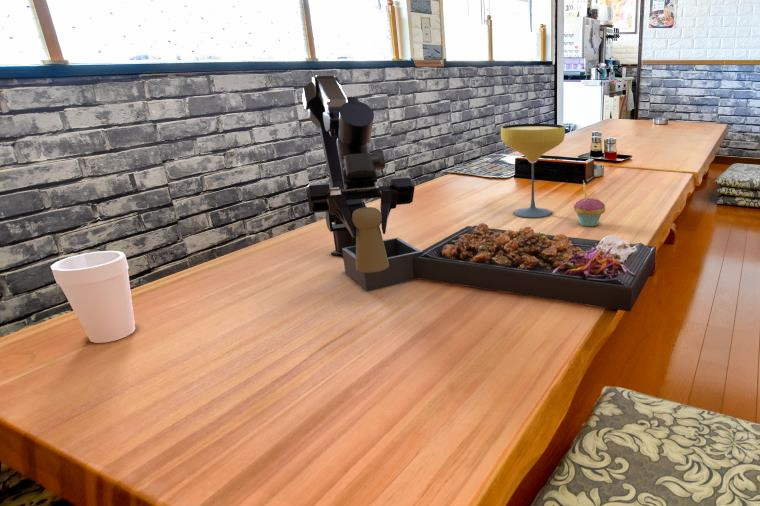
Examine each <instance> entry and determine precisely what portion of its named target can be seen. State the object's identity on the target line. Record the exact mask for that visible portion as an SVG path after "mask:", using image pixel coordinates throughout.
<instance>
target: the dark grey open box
mask: <svg viewBox="0 0 760 506" xmlns="http://www.w3.org/2000/svg"><path fill="white" fill-rule="evenodd" d="M383 242H384V246H385V250H386V254H387V258H388V262H389V267H388V268H386V269H385V270H382V271H378V272H371V273H365V272H360V271H357V270H356V245H355V246H350V247H345V248H342V252H343V256H342V258H343V266H344V273H345V274H346V275H347V276H348V277H349V278H351V280H353V281H354V282H355V283H357V284H358V285H359V286H360V287H361V288H362V289H364V291H366V292H368V291H372V290H376V289H381V288H384V287H389V286H393V285H398V284H401V283H406V282H410V281H414V280H418V279H419V278H414V274H413V263H412V257H413V256H417V257H420V255H422V254H423V251H422V250H421V249H419V248H418V247H416V246H414V245H413V244H410V242H407V241H405V240H403V239H402V238H400V237H398V236H397V237H392V238H388V239H383Z"/></svg>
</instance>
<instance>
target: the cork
mask: <svg viewBox="0 0 760 506" xmlns="http://www.w3.org/2000/svg"><path fill="white" fill-rule="evenodd" d="M352 222H353V225H354V226H355V227H356V270H357V271H360V272H365V273H371V272H378V271H382V270H385V269H386V268H388V267H389V262H388V258H387V254H386V250H385V246H384V242H383V240H384V239H383V233H382V229H381V223H382V215H381V210H380V209H378V208H377V207H371V206H367V207H364V208H359V209H356V210H355V211H354V212H353V214H352Z"/></svg>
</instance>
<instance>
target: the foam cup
mask: <svg viewBox="0 0 760 506" xmlns="http://www.w3.org/2000/svg"><path fill="white" fill-rule="evenodd" d="M50 269H51V272H52V274H53V278H54V280H55V282H56V284H57V285H59V287H60V289H61V290H62V292H63V294H64V296H65V297H66V300H67V301H68V303H69V305H70V307H71V308H72V311H73V312H74V314H75V316H76V318H77V320H78V321H79V324H80V325H81V327H82V329H83V331H84V332H85V335H86V336H87V338H88V340H89V341H90V343H95V344H102V343H109V342H114V341H118V340H121V339H123V338H127V337H129V336H130V335H132V334H133V333H134V332H135V330H136V322H135V315H134V307H133V298H132V292H131V284H130V283H131V282H130V276H129V269H130V266H129V263H128V260H127V256H126V254H125V253H124V252H123V251H120V250H119V251H118V250H100V251H99V250H98V251H91V252H85V253H80V254H77V255H73V256H68V257H66V258H63V259H60V260H58V261H55V262H54V263H53V264H51V265H50Z"/></svg>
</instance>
